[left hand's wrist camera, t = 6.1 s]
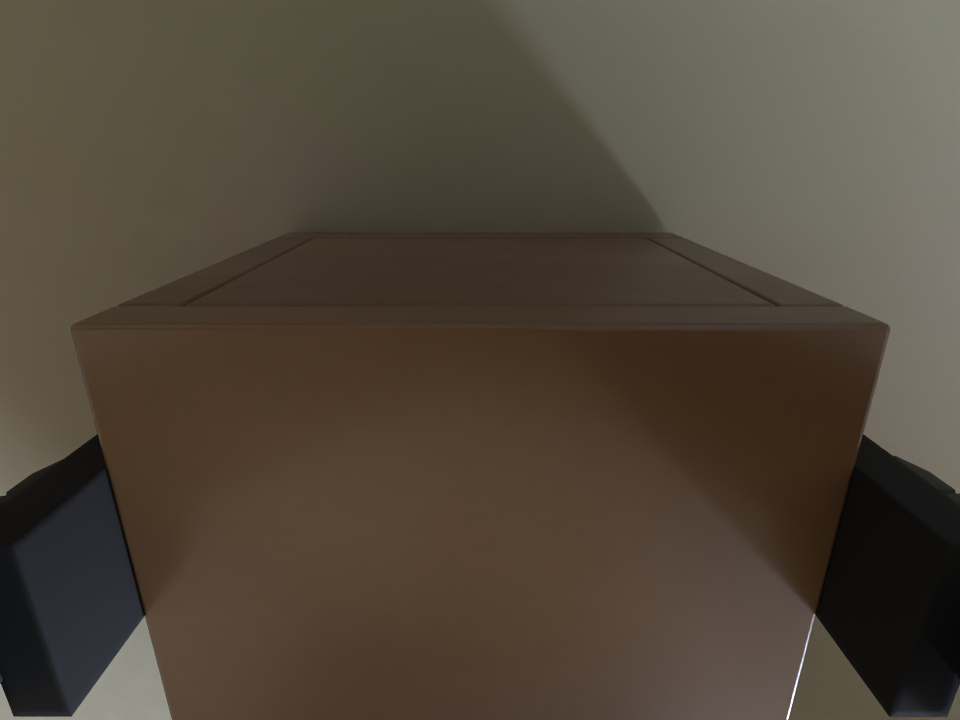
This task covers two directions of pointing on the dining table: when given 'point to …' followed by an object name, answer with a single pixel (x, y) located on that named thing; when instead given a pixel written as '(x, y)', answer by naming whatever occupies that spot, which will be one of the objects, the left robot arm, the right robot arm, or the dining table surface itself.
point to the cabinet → (480, 475)
